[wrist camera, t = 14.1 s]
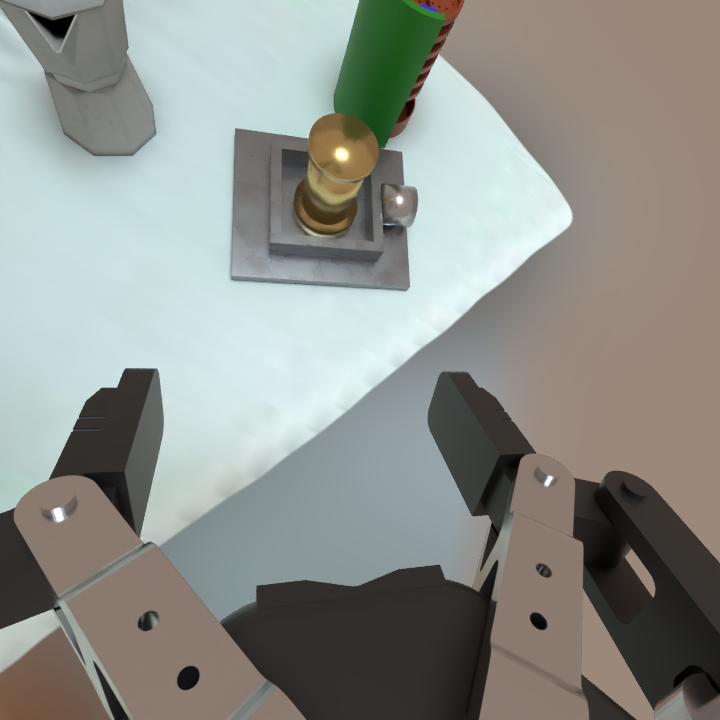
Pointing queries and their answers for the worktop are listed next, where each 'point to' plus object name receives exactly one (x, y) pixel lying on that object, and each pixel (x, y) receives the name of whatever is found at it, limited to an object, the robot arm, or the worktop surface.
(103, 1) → the coffee maker
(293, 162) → the coupling base
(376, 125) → the motor
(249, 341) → the worktop surface
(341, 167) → the gold tall waisted piece
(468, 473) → the robot arm
